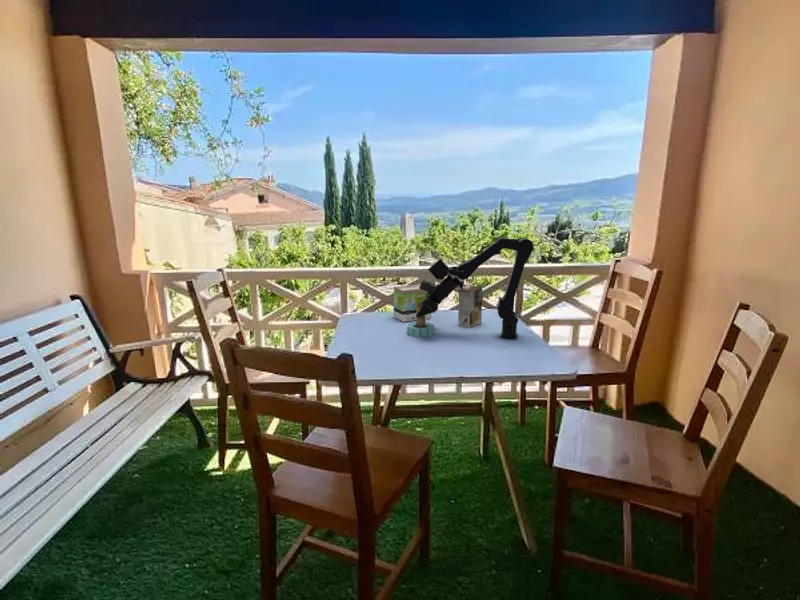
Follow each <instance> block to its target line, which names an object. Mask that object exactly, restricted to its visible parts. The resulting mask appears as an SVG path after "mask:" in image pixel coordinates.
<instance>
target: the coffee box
mask: <svg viewBox="0 0 800 600" xmlns="http://www.w3.org/2000/svg"><path fill="white" fill-rule="evenodd" d="M482 312H483V287H477V286H467V287H463V289H461V288H459V289H458V313H457V314H458V316H457V317H458V318H457V320H458V321H457V323H458V324H457V325H458V326H459V325H461V326H460V327H463V326H465V327H464V328H467V327H471V328H474V327H476V326H478V325H477V324H479V325H481V324H482V318H483V317H482V315H483V313H482ZM480 323H481V324H480ZM475 325H476V326H475ZM473 326H474V327H473Z"/></svg>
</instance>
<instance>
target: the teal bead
mask: <svg viewBox="0 0 800 600" xmlns="http://www.w3.org/2000/svg"><path fill="white" fill-rule="evenodd" d="M435 328H436V327H435V325H434V323H430V322H426V321H425V328H417V327H416V322H412V323H411V322H410V323H408V324H407V326H406V334H407V335H408V334H409V336H412V337H416V338H417V337H418V338H427V337H431V336H434V334H435Z"/></svg>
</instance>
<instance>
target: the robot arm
mask: <svg viewBox="0 0 800 600" xmlns="http://www.w3.org/2000/svg"><path fill="white" fill-rule="evenodd" d="M534 247H535V246H534V243H533V241H532V240H531V239H529V238H527V237H521V238H520V239H518V238H507V237H503V236H502V237H499V238H498V239H497V240H496V241H495V242H493V243H492V244H490V245H489V246H488V247H487V248H485V249H484V250H482V251H481V252H480V253H478V254H477V255H475V256H474V257H472V258H470V259H468V260H465V261H463V262H461V263H459V264H458V265H457V266H456V265H455V266H448V265H447V264H446V262H444V260H443V259H442V258H439V259H438V260H437V261H435V262H434V263H433V264H432V265H431V266H430V267H429V268H428V269H427V271H428V272H429V273H430V274H431V275H432V276H433V277H434V278H435V279H436V280H437V281H438V280H441V282H440V283H437V284H433V283H432V282H430V281H428V280H426V279H422V281H421V283H420V284H421V285H420V284H419V285H420V287H419V288H420V289H421V290H424V291H426V292H427V294H426V298H425V299H424V300H423V307H422V308H421V309H420V311H419V312H418V313H417V315H416V317H417V318H418V317H421V316H424V315H427V314H430V313H432V314H433V313H434V314H435V313H436V312H437V311H438V310H439V305H441V304H442V302H443V300H445V299H446V298H448V297H449V295H450V294H451V293H452V292H453V291H455V289H457V288H458V287H459V289H463V288H464V283H465V282H464V281H465V280H467V279H468V278H470V276H472V275H473V274H474V272H475V271H477V269H478V268H479V267H480V266H482V265H483V264H484V263H485V262H487V261H488V260H490V259H492V258H493V257H494V256H495V255H497V254H499V252H501V251H503V250H510V251H515V256H514V258H515V259H514V262H513V266H512V269H511V272H510V275H509V278H508V283H507V285H506V289H505V292H504V295H503V296H499V297H498V302H497V303H496V305H495V307H496V310H497V314H498V317H499V318H500V319H502V323H501V333H500V335H499V338H500V339H501V338H502V339H513V340H517V339H518V337H519V334H518V333H517V331H518V330H517V329H518V328H517V326H518V322H519V318H518V315H517V313H516V312H515V311H514V309H515V297H516V295H517V294H516V293H517V291H518V287H519V284H520V281H521V279H522V278H521V277H522V275H523V272H524V267H525V265H526V263H527V262H528V260H529V259H530V256H531V255H532V252H533V251H534ZM428 294H429V295H428Z"/></svg>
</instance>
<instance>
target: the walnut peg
mask: <svg viewBox="0 0 800 600" xmlns="http://www.w3.org/2000/svg"><path fill="white" fill-rule="evenodd" d="M422 307H423V301H418V302H416V315H417V313H418V312H419V311H420V309H421V308H422ZM415 321H416V327H417V328H425V322H426V319H425V315H424V316H421V317H418V318H417V317H416V320H415Z"/></svg>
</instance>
